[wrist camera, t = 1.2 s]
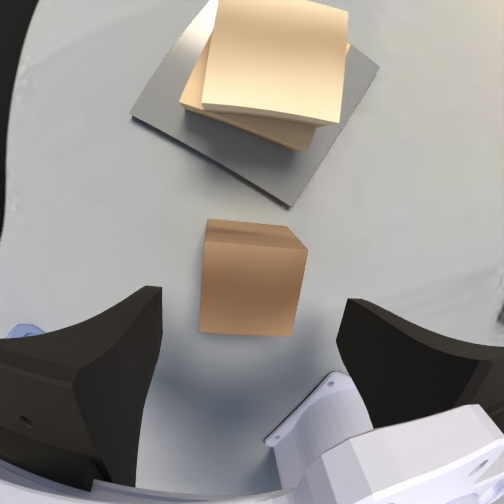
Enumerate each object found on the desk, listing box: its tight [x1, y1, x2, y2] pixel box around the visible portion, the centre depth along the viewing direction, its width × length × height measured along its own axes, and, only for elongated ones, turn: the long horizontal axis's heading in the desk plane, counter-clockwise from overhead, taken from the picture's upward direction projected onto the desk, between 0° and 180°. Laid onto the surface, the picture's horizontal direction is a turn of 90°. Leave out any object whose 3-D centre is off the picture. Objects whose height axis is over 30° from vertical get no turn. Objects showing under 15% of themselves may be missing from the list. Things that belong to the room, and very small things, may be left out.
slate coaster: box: [129, 0, 380, 207], centre depth 14 cm, size 10×10×1 cm
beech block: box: [201, 0, 348, 128], centre depth 10 cm, size 5×5×2 cm
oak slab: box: [179, 31, 351, 151], centre depth 13 cm, size 6×6×2 cm
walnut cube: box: [199, 219, 308, 336], centre depth 16 cm, size 4×4×4 cm
